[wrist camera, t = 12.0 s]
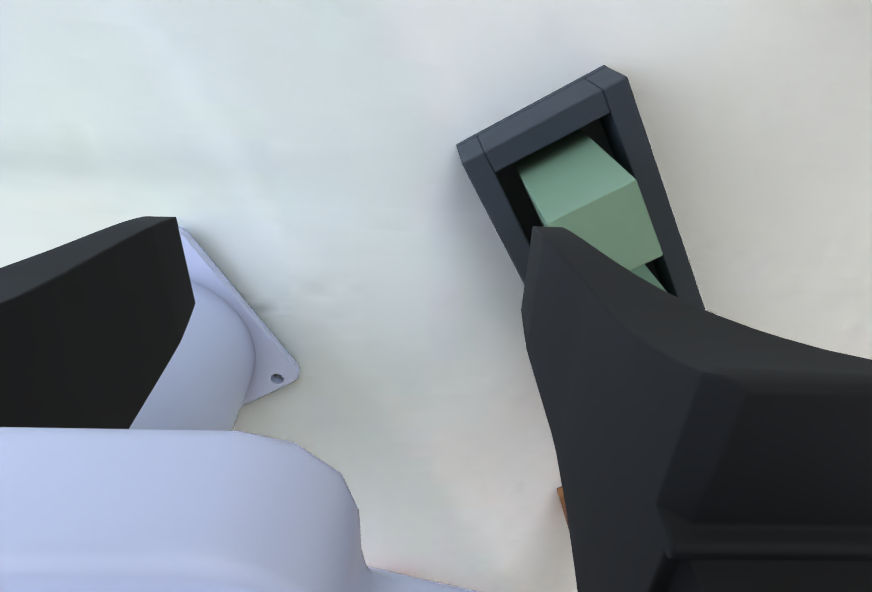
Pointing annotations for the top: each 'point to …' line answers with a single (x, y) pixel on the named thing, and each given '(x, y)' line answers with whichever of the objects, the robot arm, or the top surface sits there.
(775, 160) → the top surface
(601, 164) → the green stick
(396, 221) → the top surface
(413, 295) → the top surface
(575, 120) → the organizer
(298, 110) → the top surface
